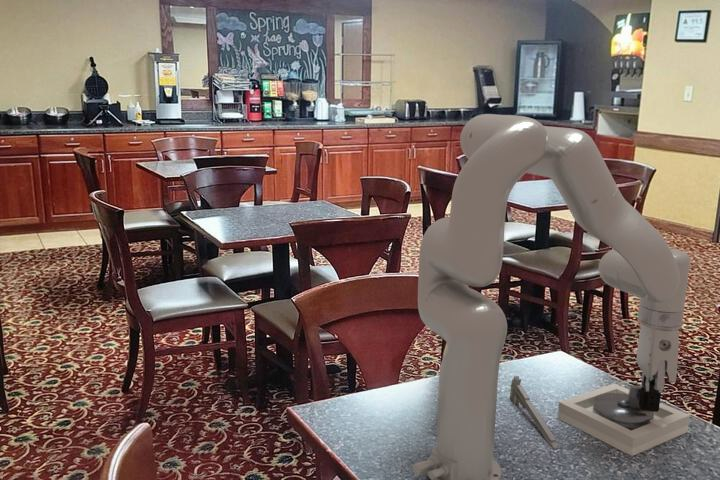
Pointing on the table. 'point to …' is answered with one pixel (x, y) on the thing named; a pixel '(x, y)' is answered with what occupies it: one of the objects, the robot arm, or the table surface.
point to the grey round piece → (623, 408)
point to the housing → (631, 442)
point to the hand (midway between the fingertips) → (648, 409)
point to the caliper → (530, 409)
